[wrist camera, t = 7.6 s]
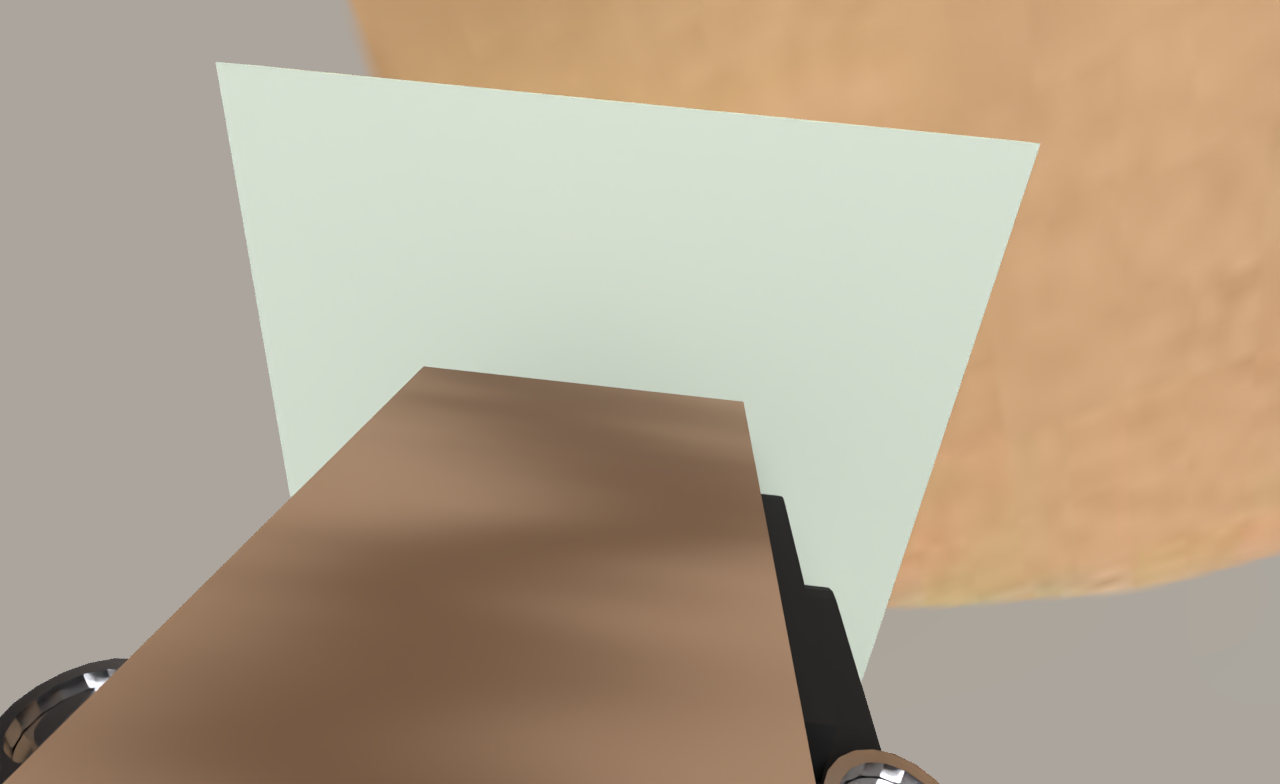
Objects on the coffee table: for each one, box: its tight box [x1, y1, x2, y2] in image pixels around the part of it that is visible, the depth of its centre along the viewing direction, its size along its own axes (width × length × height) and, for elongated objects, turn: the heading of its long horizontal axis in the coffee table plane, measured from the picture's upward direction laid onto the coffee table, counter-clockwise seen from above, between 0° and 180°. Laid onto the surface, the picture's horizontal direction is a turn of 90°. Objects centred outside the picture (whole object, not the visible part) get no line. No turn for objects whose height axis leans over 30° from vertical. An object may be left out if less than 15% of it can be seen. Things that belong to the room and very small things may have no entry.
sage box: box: [216, 62, 1040, 682], centre depth 15 cm, size 13×13×6 cm
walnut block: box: [3, 366, 816, 784], centre depth 8 cm, size 5×5×7 cm
